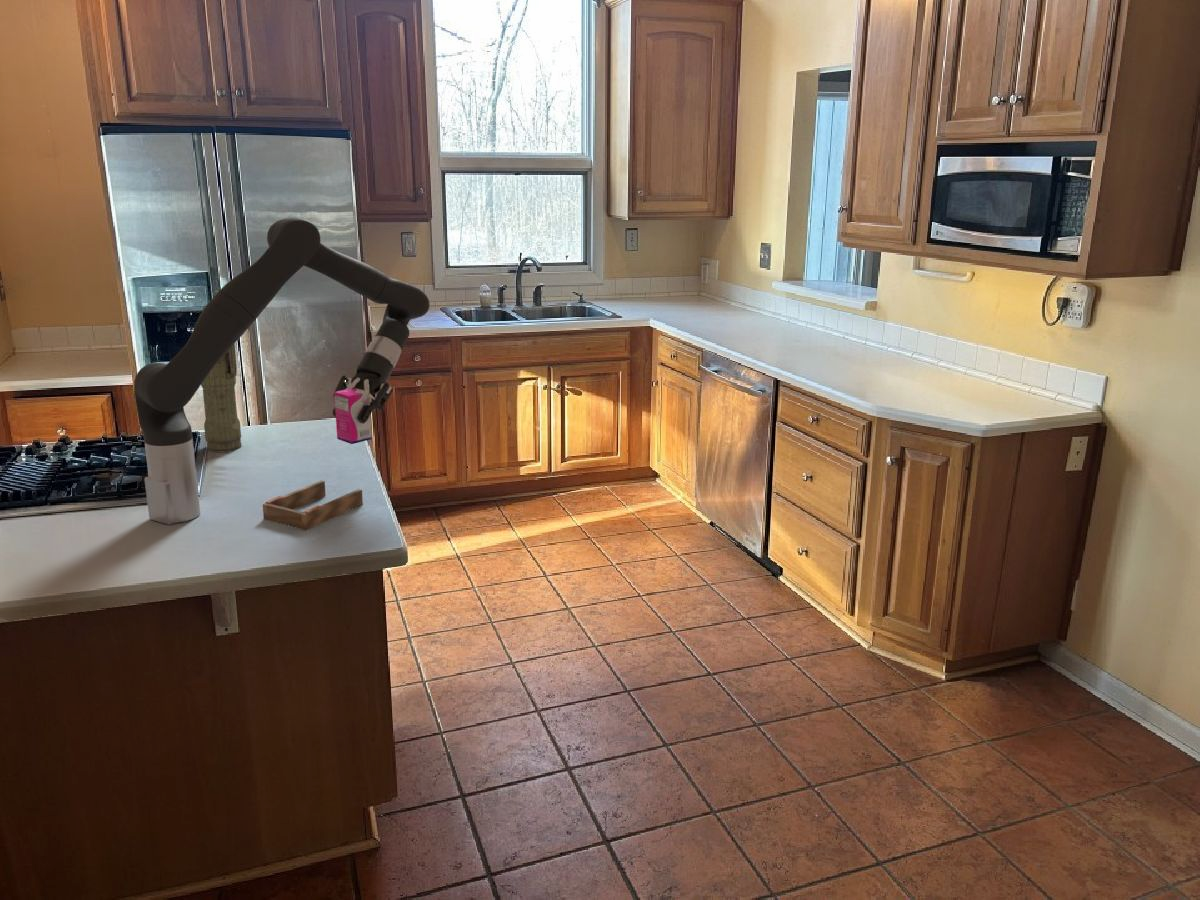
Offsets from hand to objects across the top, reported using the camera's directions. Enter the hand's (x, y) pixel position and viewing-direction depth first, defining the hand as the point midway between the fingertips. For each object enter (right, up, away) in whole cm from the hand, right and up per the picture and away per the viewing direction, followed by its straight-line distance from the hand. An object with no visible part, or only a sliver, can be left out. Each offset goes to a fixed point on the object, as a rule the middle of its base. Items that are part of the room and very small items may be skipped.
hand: (348, 419), depth 205 cm
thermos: (-44, -6, +36) cm, 57 cm away
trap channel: (-6, -21, -5) cm, 22 cm away
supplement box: (+1, -5, +3) cm, 6 cm away
